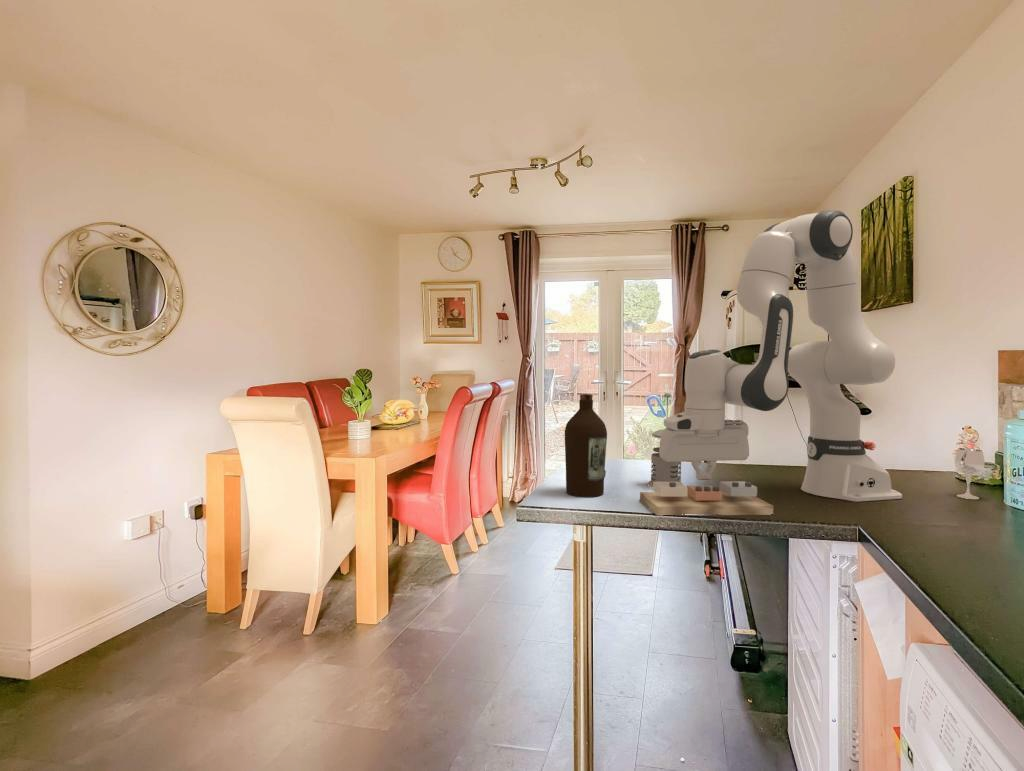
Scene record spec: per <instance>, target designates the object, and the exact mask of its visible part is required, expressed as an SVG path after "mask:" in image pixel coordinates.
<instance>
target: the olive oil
mask: <svg viewBox="0 0 1024 771" xmlns="http://www.w3.org/2000/svg"><path fill="white" fill-rule="evenodd" d="M593 397H594V396H593V394H591V393H580V394H579V400H578V401H579V402H578V403H579V404H578V406H579V408H578V410H577V412H575V413H574V414H573V416H572V417H571V418H570V419H569V420H568V421H567V423H566V425H565V427H564V450H565V451H564V452H565V453H564V454H565V456H564V458H565V459H564V460H565V492H566V493H567V494H568V495H570V496H575V497H579V498H580V497H581V498H595V497H600V496H602V495H604V489H605V488H604V487H605V478H606V474H607V473H606V472H607V471H606V456H607V441H608V431H607V428H606V427H607V426H606V424H605V422H604V421H603V420H602V418H600V416H599V415H598V414H597V413H596V412H595V410H594V408H593V407H594V406H593V405H594V400H593Z"/></svg>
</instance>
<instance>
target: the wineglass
mask: <svg viewBox="0 0 1024 771" xmlns="http://www.w3.org/2000/svg"><path fill="white" fill-rule="evenodd" d="M985 462H986V461H985V457H984V452H983V450H982V449H978V448H967V447H965V448H963V447H962V448H958V449H957V451H956V454H955V458H954V466H955V469H956V470H957V471H958V472H959V473H961V474H964V475H966V477H965V480H966V486H967V487H966V491H965V493H962V494H959V493H958V494H957V495H956V497H958V498H961V499H967V500H979V499H980V497H979V496H975V495H974V494H971V492H970V485H971V482H972V476H975V475H979V474H981V473H982V472H983V471H984V468H985V464H986V463H985Z"/></svg>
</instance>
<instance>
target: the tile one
mask: <svg viewBox="0 0 1024 771" xmlns="http://www.w3.org/2000/svg"><path fill="white" fill-rule="evenodd" d="M681 483H682V482H681ZM681 483H680V482H653V487H652V492H656V493H657V494H658V495H660V496H661V497H676V496H687V491H688V488H687V487H686V486H687V485H684V484H683V483H682V484H681Z"/></svg>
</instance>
